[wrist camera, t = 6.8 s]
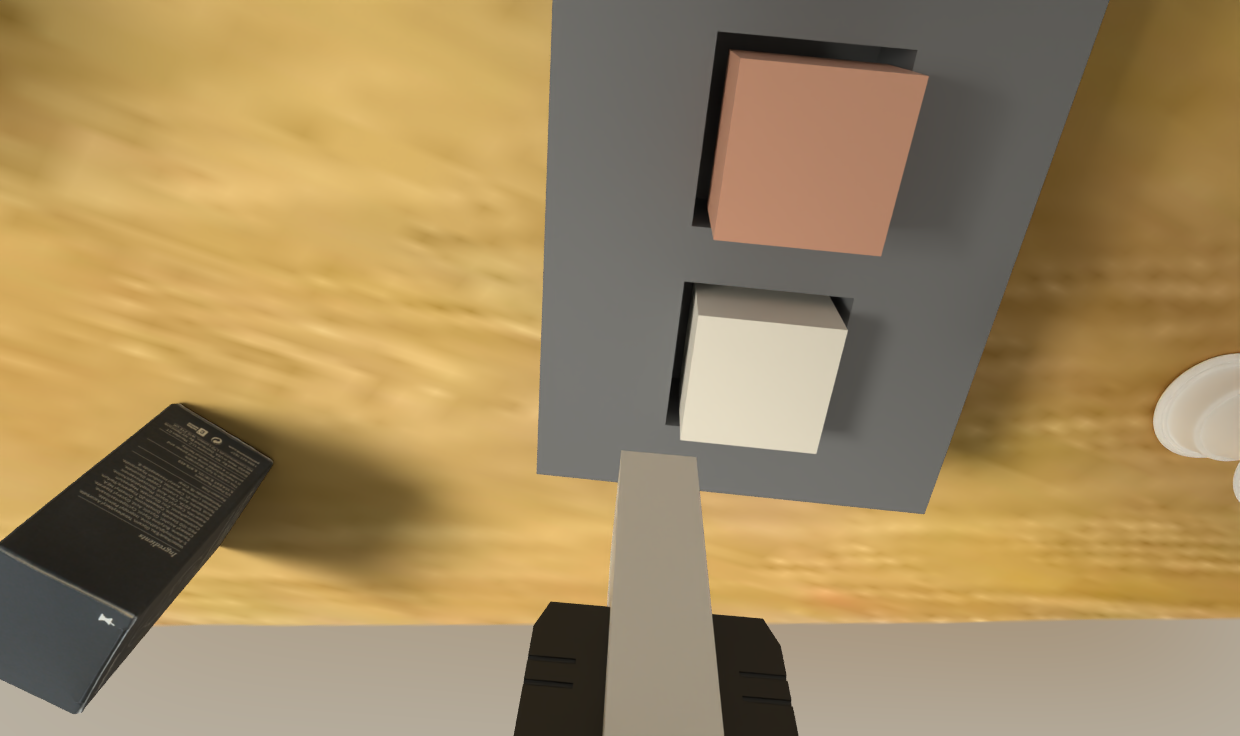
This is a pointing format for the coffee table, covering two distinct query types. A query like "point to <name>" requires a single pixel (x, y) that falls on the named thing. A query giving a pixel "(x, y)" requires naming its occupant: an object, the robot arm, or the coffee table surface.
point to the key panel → (857, 284)
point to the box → (117, 553)
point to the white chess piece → (1203, 413)
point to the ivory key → (758, 367)
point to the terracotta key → (811, 151)
